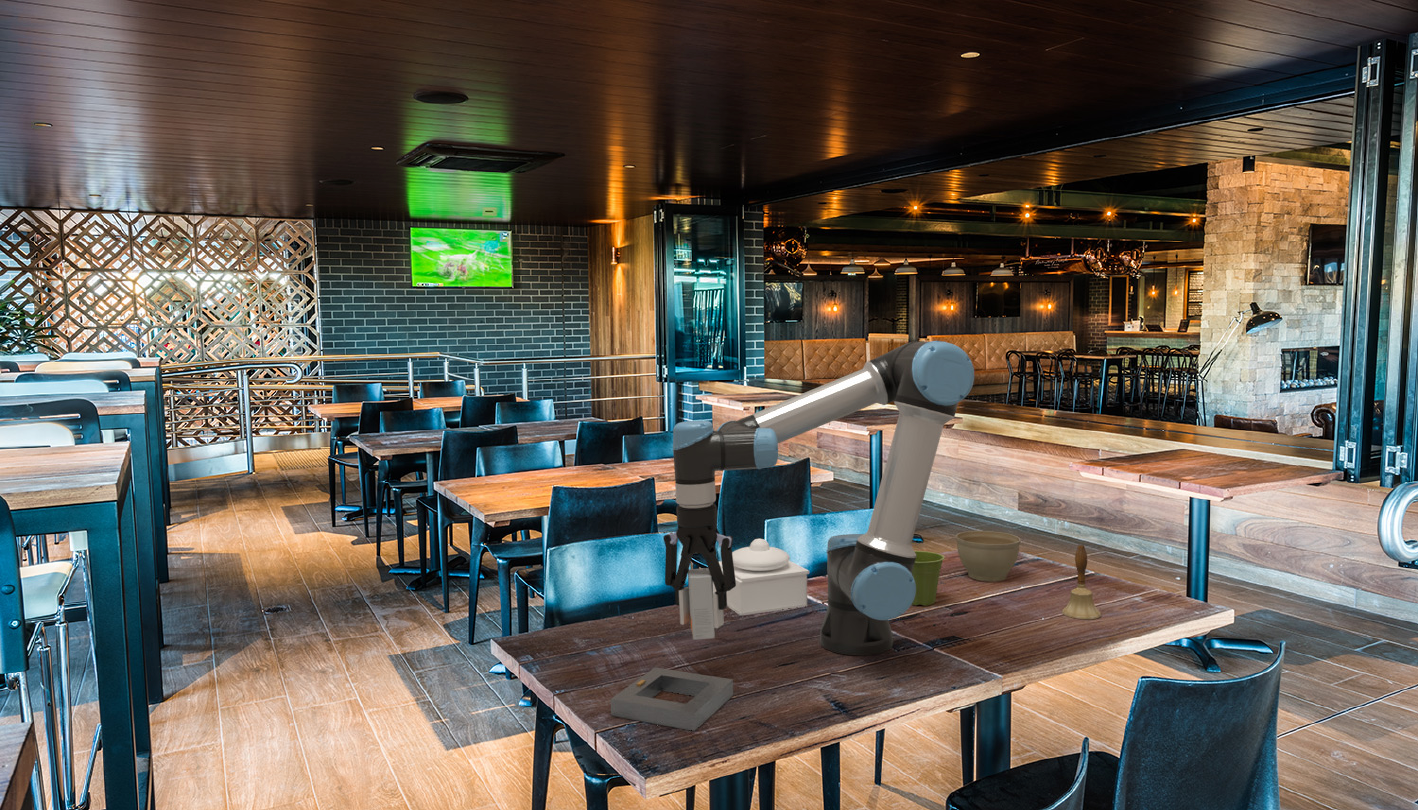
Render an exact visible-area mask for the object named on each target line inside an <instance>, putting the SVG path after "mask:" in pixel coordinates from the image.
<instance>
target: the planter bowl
mask: <svg viewBox="0 0 1418 810" xmlns="http://www.w3.org/2000/svg"><path fill="white" fill-rule="evenodd" d="M955 539H956V547H957V553H958V556H959V559H960V561H961V564H962V565H963V567H964V568H965V570H966V571H967V574H968V577H969V578H971V579H973V580H976V581H980V582H989V583H991V582H992V583H993V582H1002V581H1004V580H1006V579H1007V577H1008V574H1009V572H1011V570H1012V569H1013V567H1014V565H1016V562H1017V559H1018V556H1019V551H1020V545H1021V538H1020V537H1019V536H1017V535H1014V534H1011V533H1007V532H1002V531H1001V532H1000V531H989V530H969V531H968V530H967V531H963V532H959V533H957V534H956V535H955Z"/></svg>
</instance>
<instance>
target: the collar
mask: <svg viewBox="0 0 1418 810" xmlns="http://www.w3.org/2000/svg"><path fill="white" fill-rule="evenodd" d="M659 692H660V693H661V692H665V693H671V692H673V693H672V694H677V693H679V694H678V695H683V694H685V696H689V695H691V696H690V697H692V698H691V699H690V700H688V702H687V703H682V702H677V701H671V700H665V699H659V698H655V697H656V696H657V695H659V694H660V693H659ZM658 693H659V694H658ZM733 696H734V679H732V678H725V677H718V676H713V675H706V674H700V673H693V672H686V671H681V670H674V669H668V668H663V667H662V668H661V667H653V668H652V669H651V670H649V671H648V672H646V673H645V674H643V675H641V676H640V677H639V678H637V679H636V680H635V681H633V682H632V683H631V684H629V685H628V686H627V687H625V688H624V689H622V690H621V691H619V692H618V693H617V694H615V695H614V696H613V697H612V698H610V716H611V717H615V718H621V719H626V720H627V719H628V720H633V721H638V722H642V723H650V724H654V725H659V726H665V727H671V728H675V729H676V728H677V729H682V730H687V731H691V730H692V731H691V732H695V731H697V730H698V729H699V728H700V727H701V726H702V725H704V723H705V722H706V721H707V720H709V719H710V718H711V717H712V716H713V715H714V714H715V713H716V712H717V711H719V709H720V708H721V707H722V706H723V705H724V704H726V703H727V702H728V701H729V700H730V699H732V697H733ZM698 727H699V728H698Z"/></svg>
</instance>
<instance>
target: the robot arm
mask: <svg viewBox="0 0 1418 810" xmlns="http://www.w3.org/2000/svg"><path fill="white" fill-rule="evenodd" d="M974 382H975V368H974V365H973V362H972V360H971V358H970V356H969V355H968V354H967V352H965V350H963V349H962V348H961V347H959V346H958V345H955V344H953V343H951V342H947V341H942V340H932V341H923V340H917V341H916V340H915V341H911V342H907V343H905V344H903V345H900V346H898V347H896V348H894V349H892V350H890V351H888V352H886V353H883V354H882V355H879V356H878V357H876V358H872V359H871V360H869V361H866V362H865V363H864V365H863V368H861V369H859V370H857V371H854V372H852V373H850V374H847V375H845V376H842V377H840V378H837V379H834V380H833V381H830V382H827V383H825V384H822V385H820V386H818V387H816V388H813V389H811V390H808V391H806V392H803V393H801V394H798V395H796V396H793V397H791V398H788V399H787V400H784V401H781V402H779V403H777V404H773V405H771V406H769V407H767V408H765V409H762V410H760V411H759V410H758V411H757V412H755V413H752V414H750V415H748V416H745V417H743V418H740V419H737V420H729V421H726V422H723V423H722V424H721V425H720V426H718V428H717V429H716V430H714V429H715V428H714V427H713V426H714V425H713V424H712V422H711V421H708V420H689V421H687V420H686V421H682V422H677V423H676V424H675V426H674V427H673V430H672V433H673V434H672V437H673V439H672V441H673V442H672V452H673V467H674V469H673V470H674V485H675V488H674V489H675V503H676V504H677V506H676V508H675V509H676V523H677V530H676V532H669V533H667V534H665V535H663V537H662V538H663V543H664V546H665V568H664V573H665V574H664V583H665V585H666V586H667V587H669V586H670V587H672V588H673V589H674V597H675V599H674V601H675V605H676V606H679V623H680V625H682V626H683V625H685V624H688V622H691V620H690V602H689V586H686V585H687V578H688V570H689V569H690V566H691V563H692V559H693V556H694V554H699V555H702V558H703V560H705V563H706V565H707V568H708V569H709V571H710V574H711V578H712V584H713V583H714V586H715V589H716V592H715V593H713V592H712V596H713V614H714V629H719V628H720V627H721V626H722V625H724V624H725V621H724V620H725V619H724V610H725V609H726V608H728V606H727V591H730V590H731V589H733V588H734V587H735V586H736V580H735V572H734V564H733V556H732V552H733V551H732V550H733V549H732V548H733V542H734V537H733V536H732V535H728V536H726V535H723V534H720V531H719V530H718V513H717V504H715V502H716V500H717V494H716V492H717V491H716V476H715V474H716V472H723V471H736V470H738V471H739V470H755V469H756V470H757V469H758V470H762V469H765V468H773V467H775V466H776V464H777V463H778V459H779V444H780V443H782V442H785V441H788V440H790V439H792V438H794V437H798V436H800V435H802V434H805V433H808V432H809V431H813V430H814V429H817V428H819V427H822V426H824V425H826V424H829V423H831V422H834V421H836V420H838V419H841V418H843V417H846V416H849V415H850V414H853V413H856V412H859V411H861V410H863V409H866V408H868V407H871V406H873V405H875V404H880V405H881V406H885V405H888V404H890V403H893V402H894V405H895V407H896V409H897V411H898V413H899V415H898V417H897V422H896V425H895V429H894V433H893V436H892V440H891V443H890V447H889V451H888V455H887V458H886V459H887V460H886V463H885V467H884V470H883V473H882V477H881V481H880V483H879V489H878V492H877V496H876V498H875V502H874V507H873V510H872V514H871V517H870V518H871V519H870V522H869V526H868V530H867V531H866V533H850V534H849V533H848V534H838V535H833V536H831V537H830V538H829V539H828V540H827V547H826V549H827V550H826V555H827V558H826V559H827V608H826V612H825V615H824V618H823V620H822V624H821V626H820V630H819V643H820V645H821V646H822V647H823V649H826V650H828V651H830V652H833V653H837V654H842V655H848V656H849V655H850V656H871V655H877V654H882V653H885V652H887V651H889V650H891V648H893V645H894V635H893V631H892V627H891V624H890V622H889V620H893V619H896V618H898V617H900V616H901V615H903V614H904V613H905V612H907V611H908V610H909V608H911V606H912V605H911V604H912V603H913V601H914V598H915V594H916V584H915V580H914V577H913V576H912V570H913V567H914V563H915V559H916V553H915V552H914V551H915V550H914V548H913V545H912V542H913V539H914V535H915V531H916V528H917V523H918V520H919V517H920V514H921V509H922V504H923V502H924V498H925V495H926V491H927V487H928V484H929V480H930V477H931V473H932V469H933V467H934V466H933V465H934V461H935V458H936V454H937V451H938V448H939V444H940V439H941V435H942V433H943V428H944V426H945V424H947V423H949V422H951V421H952V420H953V419H955V416H956V412H957V409H958V407H959V406H958V405H959V402H961V401H963V400H964V399H965V398H966V397H967V396H968V395H969V393H970V392H971V390H972V388H973V386H974ZM678 542H679V543H681V545H682V549H681V551H680V559H679V564H678V568H677V563H678ZM717 542H718V547H719V548H720V558H721V560H720V561H722V568H723V573H722V570H721V567H720V564H719V560H718V557H717V549H716V546H715V544H716V543H717Z"/></svg>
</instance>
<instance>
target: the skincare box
mask: <svg viewBox="0 0 1418 810" xmlns="http://www.w3.org/2000/svg"><path fill="white" fill-rule="evenodd" d="M687 578H688V579H687V581H688V587H689V605H690V630H691V635H692V640H694V641H696V640H708V639H709V640H710V639H715V637H716V633H715V628H714V611H713V580H712V577H711V574H710V571H709V569H708V567H706V568H704V567H703V568H689V570H688V574H687Z"/></svg>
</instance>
